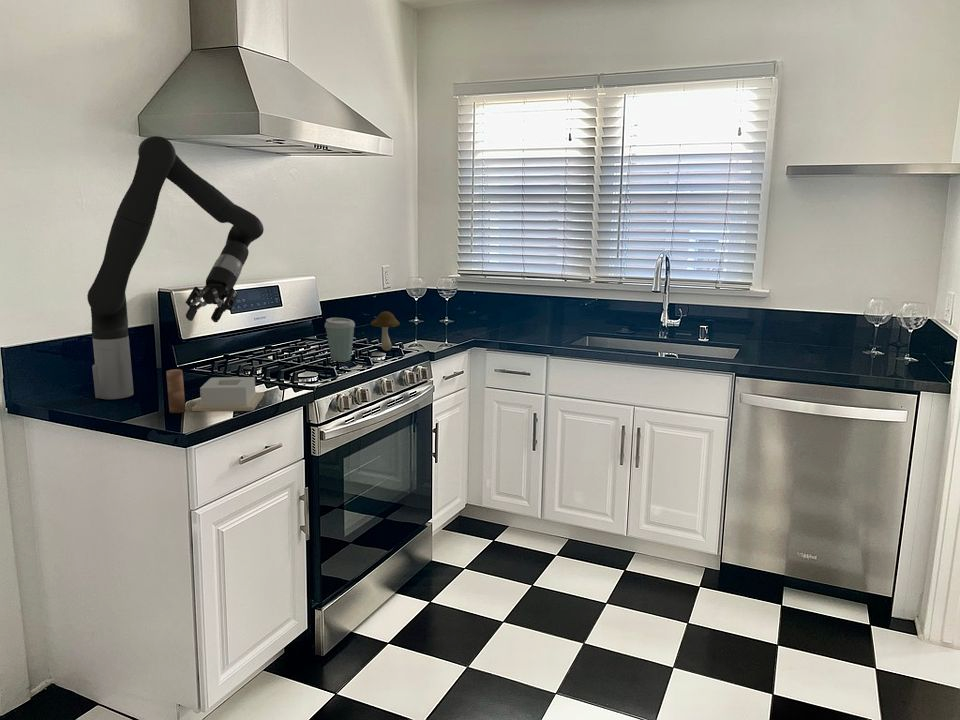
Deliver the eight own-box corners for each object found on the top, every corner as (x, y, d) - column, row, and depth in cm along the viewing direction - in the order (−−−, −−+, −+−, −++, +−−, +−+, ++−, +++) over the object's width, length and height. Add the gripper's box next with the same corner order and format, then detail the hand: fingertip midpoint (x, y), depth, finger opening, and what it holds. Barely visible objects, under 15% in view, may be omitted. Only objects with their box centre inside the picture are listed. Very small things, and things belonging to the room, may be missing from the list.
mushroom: (379, 347, 290) (378, 308, 287) (405, 350, 285) (404, 311, 282) (366, 351, 282) (365, 311, 279) (391, 354, 277) (391, 314, 274)
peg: (167, 413, 200) (164, 372, 197) (172, 409, 204) (168, 369, 201) (182, 412, 200) (179, 372, 198) (187, 408, 204) (184, 369, 202)
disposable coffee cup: (359, 358, 269) (358, 317, 266) (351, 365, 259) (350, 322, 256) (330, 357, 270) (329, 316, 267) (321, 364, 260) (320, 321, 257)
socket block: (191, 411, 201) (190, 389, 200) (207, 396, 217) (206, 376, 215) (253, 410, 203) (251, 389, 201) (264, 395, 218) (263, 375, 217)
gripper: (197, 264, 215) (172, 310, 207) (238, 266, 210) (214, 313, 202) (211, 281, 221) (188, 326, 213) (252, 282, 216) (229, 329, 208)
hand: (201, 319), depth 207 cm, fingers open, 8 cm apart
